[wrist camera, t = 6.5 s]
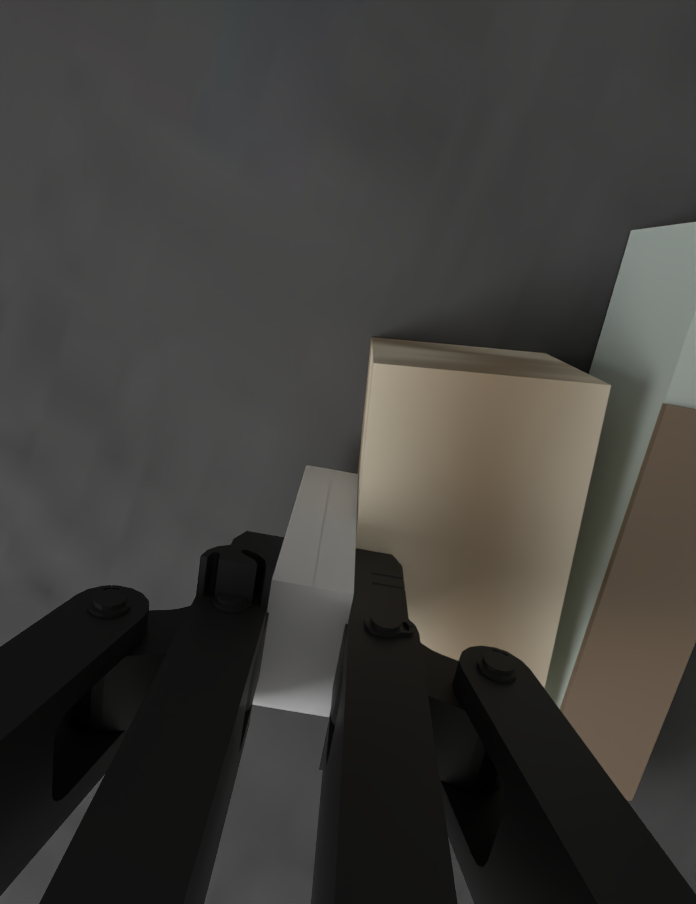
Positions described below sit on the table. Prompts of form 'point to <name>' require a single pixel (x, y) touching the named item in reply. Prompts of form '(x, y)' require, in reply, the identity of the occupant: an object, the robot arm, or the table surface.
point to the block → (478, 488)
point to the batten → (636, 516)
